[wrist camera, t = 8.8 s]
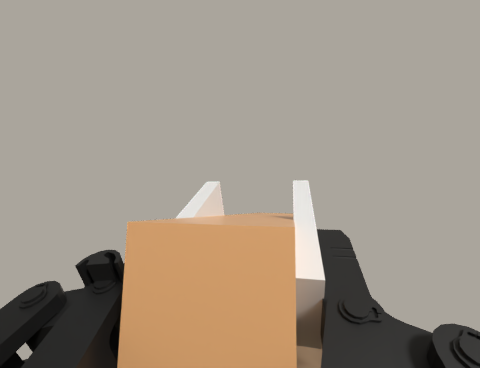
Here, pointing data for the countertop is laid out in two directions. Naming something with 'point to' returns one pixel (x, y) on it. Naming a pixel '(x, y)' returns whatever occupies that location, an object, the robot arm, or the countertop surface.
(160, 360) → the light orange bar
